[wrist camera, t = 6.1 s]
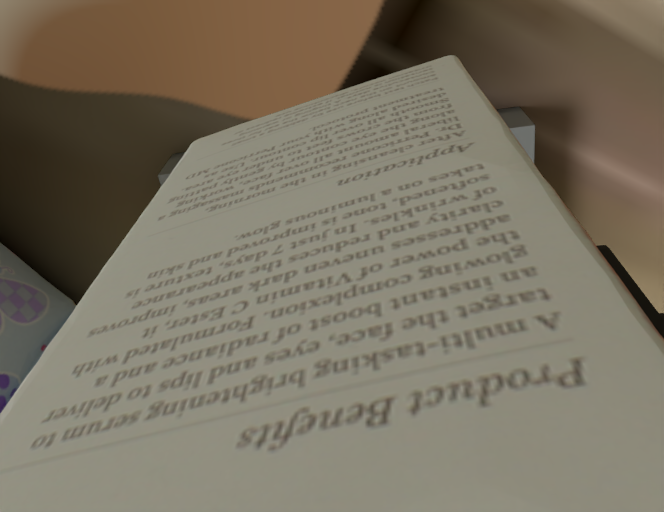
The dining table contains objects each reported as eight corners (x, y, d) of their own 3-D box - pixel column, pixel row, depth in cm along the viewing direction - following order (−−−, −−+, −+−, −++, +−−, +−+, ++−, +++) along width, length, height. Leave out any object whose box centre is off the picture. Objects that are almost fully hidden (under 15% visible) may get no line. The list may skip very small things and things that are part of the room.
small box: (531, 361, 15) (822, 1089, 6) (318, 411, 16) (275, 1096, 7) (460, 40, 11) (992, 682, 2) (185, 132, 12) (-325, 838, 3)
